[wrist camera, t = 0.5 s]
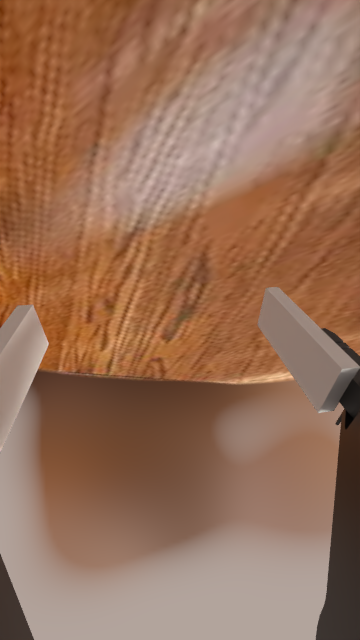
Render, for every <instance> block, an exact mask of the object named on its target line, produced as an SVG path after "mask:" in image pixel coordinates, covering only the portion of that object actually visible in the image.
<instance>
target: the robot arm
mask: <svg viewBox="0 0 360 640" xmlns="http://www.w3.org/2000/svg"><path fill="white" fill-rule="evenodd" d="M258 327H259V328H260V329H261V331H262V332H263V334H264V335H265V337H266V338H267V340H268V341H269V342H270V344H271V345H272V347H273V348H274V350H275V351H276V353H277V354H278V356H279V357H280V358H281V360H282V361H283V363H284V364H285V366H286V367H287V369H288V370H289V371H290V373H291V374H292V376H293V377H294V379H295V380H296V382H297V383H298V384H299V386H300V387H301V389H302V390H303V392H304V393H305V395H306V396H307V397H308V399H309V400H310V402H311V403H312V405H313V406H314V408H315V409H316V410H317V412H318V413H321V412H328V411H334V410H335V408H336V406H337V405H338V403H339V402H340V403H341V404H342V406H343V407H344V408H345V409H344V410H343V412H342V414H341V415H340V417H339V418H338V420H337V422H336V425H339V423H340V422H341V430H340V442H339V454H338V466H337V477H336V490H335V501H334V512H333V513H334V514H333V524H332V536H331V547H330V560H329V571H328V583H327V593H326V600H325V604H324V607H323V609H322V612H321V614H320V618H319V621H318V626H317V634H316V640H360V356H359V355H358V354H357V353H355V352H354V351H353V350H352V349H351V348H349V346H348V345H347V344H346V343H343V340H341V339H340V338H339V337H338V336H337V335H336V334H335V333H333V332H331V331H329V330H327V329H326V328H323V329H321V328H320V327H319V326H318V325H317V324H316V323H314V322H313V321H312V320H311V319H310V318H309V317H308V316H307V315H306V314H305V313H304V312H303V311H302V310H301V309H300V308H299V307H298V306H297V305H296V304H295V303H294V302H293V301H292V300H291V299H290V298H289V297H288V296H287V295H286V294H285V293H284V292H283V291H282V290H280V289H279V288H278V287H272V288H266V290H265V294H264V299H263V303H262V307H261V312H260V316H259V321H258ZM48 345H49V343H48V341H47V338H46V336H45V333H44V331H43V328H42V326H41V323H40V321H39V318H38V316H37V314H36V311H35V309H34V306H33V305H22V306H17V307H16V308H15V310H14V311H13V312H12V314H11V315H10V316H9V318H8V319H7V320H6V322H5V323H4V324H3V326H2V327H1V328H0V452H1V450H2V448H3V446H4V444H5V441H6V439H7V437H8V435H9V432H10V430H11V428H12V425H13V423H14V421H15V419H16V416H17V414H18V412H19V410H20V407H21V405H22V403H23V401H24V399H25V396H26V394H27V392H28V390H29V387H30V385H31V383H32V381H33V378H34V376H35V374H36V372H37V370H38V367H39V365H40V363H41V361H42V358H43V356H44V354H45V352H46V349H47V347H48ZM0 640H34V639H33V636H32V633H31V631H30V628H29V626H28V623H27V621H26V618H25V616H24V613H23V610H22V608H21V605H20V603H19V600H18V598H17V595H16V593H15V590H14V588H13V585H12V582H11V580H10V577H9V575H8V572H7V570H6V567H5V565H4V562H3V560H2V557H1V554H0Z"/></svg>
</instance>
